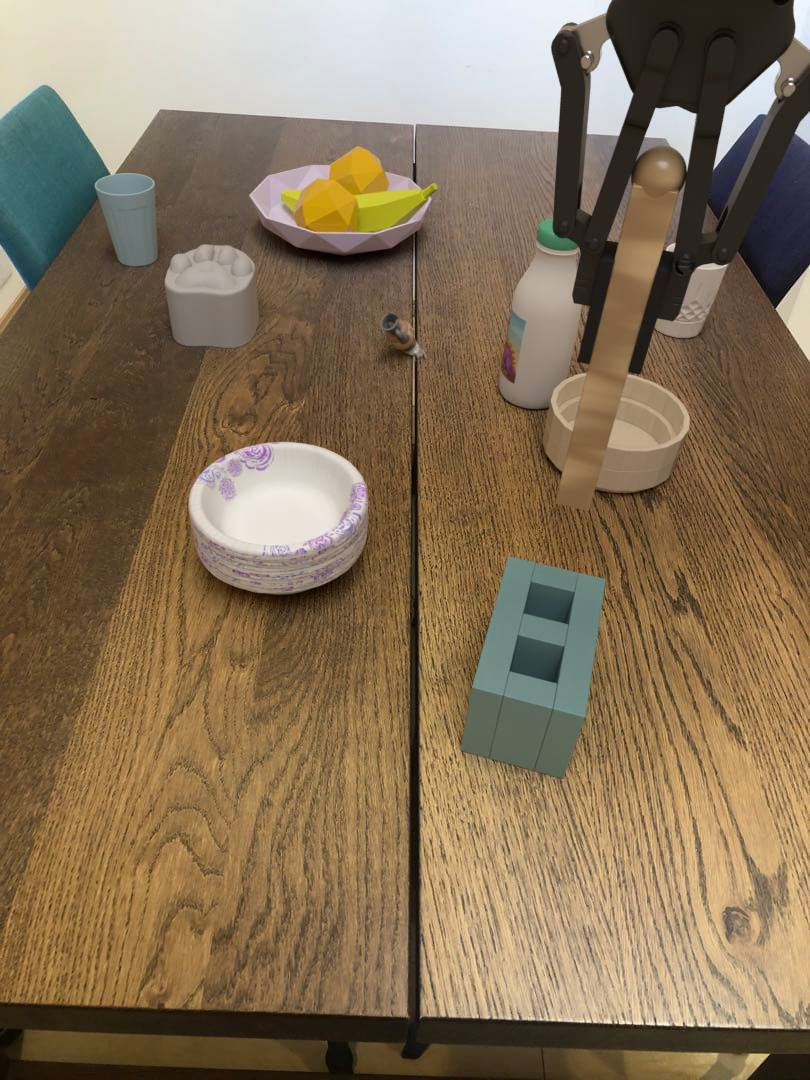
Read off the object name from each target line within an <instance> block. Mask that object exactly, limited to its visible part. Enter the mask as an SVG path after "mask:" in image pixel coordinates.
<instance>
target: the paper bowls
mask: <svg viewBox="0 0 810 1080" xmlns="http://www.w3.org/2000/svg"><path fill="white" fill-rule="evenodd" d="M368 492H369V491H368V487H367V483H366V480H365V479H364V477H363V476H362V474H361V473H360V471H359V470H358V469H357V467H355V466H354V465H353V464H352V463H351V462H350V461H349V460H348V459H346V458H344V457H343V456H342V455H340V454H338V453H336V452H335V451H331V450H329V449H327V448H324V447H321V446H318V445H313V444H309V443H302V442H294V441H276V442H275V441H274V442H273V441H271V442H263V443H258V444H254V445H250V446H245V447H243V448H239V449H237V450H233V451H232V452H230V453H228V454H226V455H223V456H222V457H219V458H218V459H215V461H214V462H212V463H211V464H209V466H207V467H206V468H205V469H204V470H203V471H202V472H200V474H199V476H198V477H197V478H196V480H195V481H194V483H193V484H192V487H191V489H190V491H189V496H188V503H187V505H188V507H187V508H188V513H189V519H190V526H191V530H192V534H193V542H194V546H195V549H196V553H197V555H198V557H199V560H200V562H201V563H202V564H203V566H204V567H205V568H206V570H208V572H209V573H211V575H213V577H215V578H217V579H218V580H220V581H221V582H224V583H226V584H228V585H230V586H232V587H235V588H238V589H241V590H245V591H248V592H251V593H257V594H268V595H281V596H282V595H294V594H298V593H302V592H305V591H309V590H312V589H315V588H318V587H320V586H323V585H325V584H327V583H329V582H331V581H333V580H336V579H337V578H338V577H340V576H342V575H343V574H345V573H346V572H347V571H348V570H350V569H351V567H353V565H354V564H355V563H356V562H357V560H358V559H359V558H360V557H361V554H362V553H363V550H364V548H365V545H366V542H367V538H368V527H369V494H368Z"/></svg>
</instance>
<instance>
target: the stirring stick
mask: <svg viewBox="0 0 810 1080" xmlns="http://www.w3.org/2000/svg"><path fill="white" fill-rule="evenodd" d="M687 169H688V166H687V162H686V160H685V157H684V156H683V155H682V153H681V152H680V151H679V150H678V149H676V148H674V147H673V146H669V145H663V144H662V145H656V146H653V147H650V148H648V149H646V150H644V151H643V152H642V153H641V154H640V155H638V156H637V159H636V162H635V165H634V167H633V170H632V173H631V176H630V182H631V183H630V184H631V189H630V192H629V197H628V201H627V205H626V210H625V213H624V218H623V222H622V225H621V229H620V234H619V238H618V241H617V242H618V246H617V250H616V254H615V258H614V260H615V261H614V265H613V269H612V273H611V277H610V281H609V285H608V290H607V294H606V298H605V302H604V306H603V310H602V314H601V318H600V322H599V326H598V330H597V335H596V339H595V343H594V347H593V351H592V355H591V359H590V363H589V364H587V365H588V366H587V369H586V373H587V374H586V378H585V382H584V386H583V390H582V394H581V398H580V402H579V406H578V411H577V415H576V419H575V423H574V427H573V431H572V435H571V439H570V444H569V448H568V452H567V456H566V460H565V464H564V468H563V472H561V477H560V481H559V485H558V489H557V493H556V498H555V504H556V505H559V506H564V507H568V508H573V509H577V510H581V511H584V512H589V511H590V508H591V505H592V502H593V498H594V495H595V491H596V489H595V488H596V484H597V481H598V477H599V474H600V470H601V467H602V463H603V460H604V456H605V452H606V449H607V445H608V442H609V438H610V435H611V431H612V428H613V424H614V421H615V417H616V414H617V410H618V407H619V403H620V400H621V396H622V393H623V389H624V385H625V382H626V378H627V375H628V374H629V372H628V370H629V366H630V363H631V359H632V356H633V352H634V349H635V345H636V342H637V338H638V335H639V331H640V327H641V324H642V320H643V317H644V313H645V310H646V306H647V303H648V299H649V296H650V292H651V288H652V285H653V281H654V278H655V274H656V271H657V268H658V266H659V262H660V258H661V255H662V251H663V250H664V247H665V244H666V240H667V237H668V233H669V230H670V226H671V224H672V220H673V216H674V212H675V209H676V206H677V203H678V202H677V201H678V198H679V196H680V194H679V193H680V192H681V191H682V189H683V188H684V186H685V181H686V176H687Z"/></svg>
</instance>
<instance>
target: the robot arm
mask: <svg viewBox="0 0 810 1080" xmlns="http://www.w3.org/2000/svg"><path fill="white" fill-rule="evenodd" d="M794 7H795V0H611V1H610V3H609V4H608V7H607V9H606V12H605V13H601V14H599V15H597V16H594V17H592V18H590V19H588V20H585V21H582V22H580V23H576V22H573V21H569V22H566V23H565V24H564V25H561V27H560V29H559V30H558V32H557V33H556V35H555V37H554V38H553V39H552V42H551V45H550V52H551V56H552V60H553V64H554V67H555V71H556V74H557V79H558V82H559V86H560V100H559V116H558V117H559V118H558V131H557V132H558V133H557V148H556V165H555V180H554V198H553V210H552V211H553V212H552V216H553V217H552V218H553V232H554V234H555V235H556V236H557V237H559V238H562V239H563V238H568V239H569V240H571V241H573V242H574V243H576V244H577V245H578V247H579V249H580V251H579V253H580V254H579V259H578V264H577V274H576V279H575V283H574V288H573V293H572V297H573V302H574V303H575V304H580V305H582V306H587V307H589V308H588V312H587V317H586V321H585V325H584V330H583V334H582V338H581V344H580V346H579V351H578V356H577V360H576V363H580V364H584V365H589V363H590V359H591V355H592V351H593V347H594V343H595V339H596V335H597V330H598V326H599V322H600V318H601V314H602V310H603V306H604V302H605V298H606V294H607V290H608V285H609V281H610V277H611V273H612V269H613V265H614V261H615V260H614V258H615V254H616V250H617V246H618V242H619V241H613V240H608V238H609V236H610V233H611V231H612V228H613V225H614V221H615V219H616V218H617V214H618V212H619V208H620V206H621V203H622V200H623V199H624V198H623V197H624V195H625V192H626V190H627V187H628V184H629V181H630V179H631V173H632V170H633V167H634V165H635V162H636V160H637V159H638V157H639V153H640V150H641V149H642V145H643V142H644V140H645V137H646V134H647V132H648V130H649V128H650V125H651V121H652V119H653V117H654V115H655V112H656V109H666V108H674V107H679V108H680V109H683V110H685V111H687V112H689V113H691V114H694V115H695V114H696V115H695V119H694V126H693V132H692V139H691V143H690V144H691V145H690V150H689V156H688V164H687V176H686V180H685V183H684V186H683V192H682V198H681V199H682V201H681V207H680V212H679V217H678V224H677V230H676V235H675V237H676V238H675V242H674V243H675V248H674V251H673V252H671V251H666V249H665V250H664V249H663V251H662V255H661V258H660V262H659V266H658V268H657V271H656V274H655V278H654V281H653V285H652V288H651V292H650V296H649V299H648V303H647V306H646V310H645V313H644V317H643V320H642V324H641V327H640V331H639V335H638V338H637V342H636V345H635V349H634V352H633V356H632V359H631V363H630V366H629V370H628V373H631V374H635V375H642V371H643V368H644V365H645V362H646V359H647V354H648V352H649V348H650V344H651V341H652V338H653V334H654V330H655V324H656V321H657V319H663V320H668V321H674V320H675V319H676V317H677V316H678V315H679V313H680V310H681V307H682V304H683V301H684V297H685V294H686V291H687V288H688V285H689V282H690V278H691V275H692V273H693V272H694V271H695V269H696V268H698V267H699V266H701V265H705V264H711V263H715V264H717V265H721V266H723V265H727V264H728V265H730V263H732V262H733V260H734V259H735V257H736V255H737V253H738V251H739V249H740V247H741V244H742V243H743V241H744V238H745V237H746V235H747V232H748V230H749V228H750V226H751V224H752V222H753V221H754V218H755V216H756V214H757V212H758V210H759V208H760V206H761V204H762V201H763V200H764V197H765V195H766V193H767V191H768V189H769V187H770V185H771V184H772V181H773V179H774V177H775V175H776V173H777V171H778V169H779V167H780V165H781V163H782V160H783V159H784V156H785V154H786V153H787V150H788V148H789V146H790V144H791V141H792V140H793V137H794V136H795V134H796V132H797V129H798V128H799V125H800V123H801V122H802V121H804V118H806V116H807V115H809V113H810V49H809V48H808V47H807V46H806V45H805V44H804V43H802V42H801V40H798V39H797V37H795V34H796V29H797V27H796V19H795V12H794V11H795V10H794ZM608 40H610V41H611V44H612V46H613V49H614V52H615V54H616V56H617V59H618V62H619V64H620V67H621V69H622V71H623V75H624V77H625V79H626V82H627V84H628V87H629V89H630V91H631V93H632V96H631V99H630V102H629V106H628V108H627V111H626V113H625V117H624V120H623V123H622V126H621V129H620V132H619V135H618V136H617V137H618V138H617V141H616V144H615V146H614V149H613V152H612V155H611V158H610V160H609V163H608V166H607V170H606V172H605V176H604V178H603V181H602V184H601V187H600V190H599V193H598V195H597V198H596V202H595V204H594V207H593V210H592V213H591V214H590V213H588V212H586V211H584V210H583V209H582V208H581V206H582V196H583V183H584V172H585V162H586V161H585V160H586V148H587V147H586V146H587V134H588V123H589V114H590V113H589V110H590V100H591V88H592V87H591V86H592V72H593V71H595V70H596V69H597V67H598V66H599V64H600V62H601V59H602V57H603V56H602V55H603V47H604V44H605V43H606V42H607V41H608ZM776 62H777V63H778V64H779V69H778V72H777V74H776V76H775V77H774V80H773V92H774V94H775V99H774V100H773V102H772V104H771V105H770V108H769V110H768V112H767V113H766V116H765V118H764V120H763V122H762V125H761V127H760V129H759V131H758V134H757V136H756V138H755V140H754V143H753V145H752V146H751V148H750V150H749V153H748V155H747V158H746V160H745V161H744V164H743V166H742V169H741V171H740V173H739V175H738V177H737V180H736V181H735V184H734V186H733V188H732V190H731V191H730V192H731V193H730V194H729V197H728V199H727V201H726V203H725V206H724V207H723V210H722V212H721V214H720V217H719V218H718V221H717V224H716V225H715V228H714V230H713V231H706V232H703V228H704V224H705V218H706V213H707V207H708V201H709V197H710V191H711V185H712V180H713V174H714V169H715V163H716V158H717V153H718V148H719V142H720V137H721V133H722V127H723V123H724V116H725V112H726V107H727V106H729V105H730V104H731V103H732V102H733V101H734V100H735V99H736V98H737V97H738V96H740V95H741V94H742V93H743V92H744V91H745V90H746V89H747V88H748V87H749V86H751V85H752V84H753V83H754V82H755V81H756V80H757V79H758V78H759V77H760V76H761V75H763V74H764V73H765V72H766V71H767V70H768V69H769V68H770V67H772V65H774V63H776Z"/></svg>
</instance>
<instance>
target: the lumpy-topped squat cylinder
mask: <svg viewBox="0 0 810 1080" xmlns="http://www.w3.org/2000/svg"><path fill="white" fill-rule="evenodd" d="M257 286H258V285H257V272H256V264H255V262H254V261H253V260H252V259H251V257H249V255H247V253H245V252H243V251H242V250H240V249H238V248H235V247H233V246H232V245H227V244H225V245H221V244H219V245H218V244H215V245H214V244H205V243H204V244H201V245H199V246H198V247H197V248H194V249H191V250H188V251H186V252H184V253H176V254H175V255H173V256H172V257H171V260H170V262H169V266H168V268H167V271H166V274H165V278H164V289H165V295H166V302H167V307H168V315H169V321H170V327H171V333H172V338H173V340H174V341H175V342H176V343H178V344H180V345H182V346H185V347H214V348H222V349H236V348H239V347H240V348H241V347H242V346H246V345H247V344H248V343H250V342H251V341H252V340H253V339H254V337H255V334H256V332H257V330H258V327H259V323H260V311H259V299H258V298H259V297H258V287H257Z"/></svg>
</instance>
